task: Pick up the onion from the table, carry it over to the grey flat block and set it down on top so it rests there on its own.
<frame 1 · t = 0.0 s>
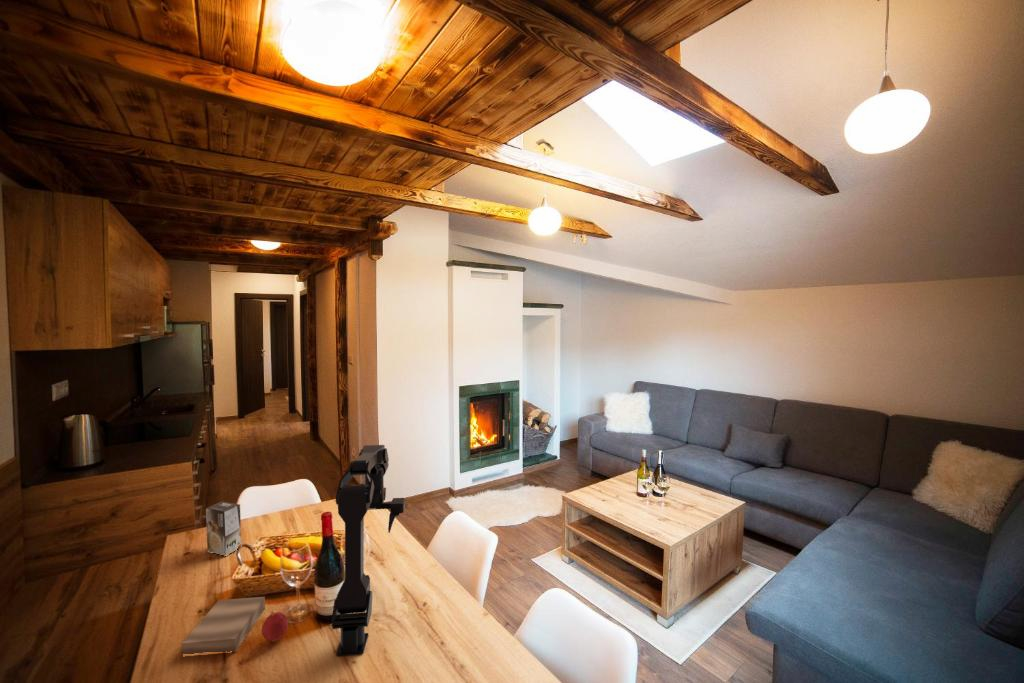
hand: (374, 532, 134), 15 cm above the table, tool pointing down, fingers open, 9 cm apart
grey flat block: (227, 632, 111), on the table
coffee box: (224, 550, 150), on the table
onion: (275, 641, 108), on the table
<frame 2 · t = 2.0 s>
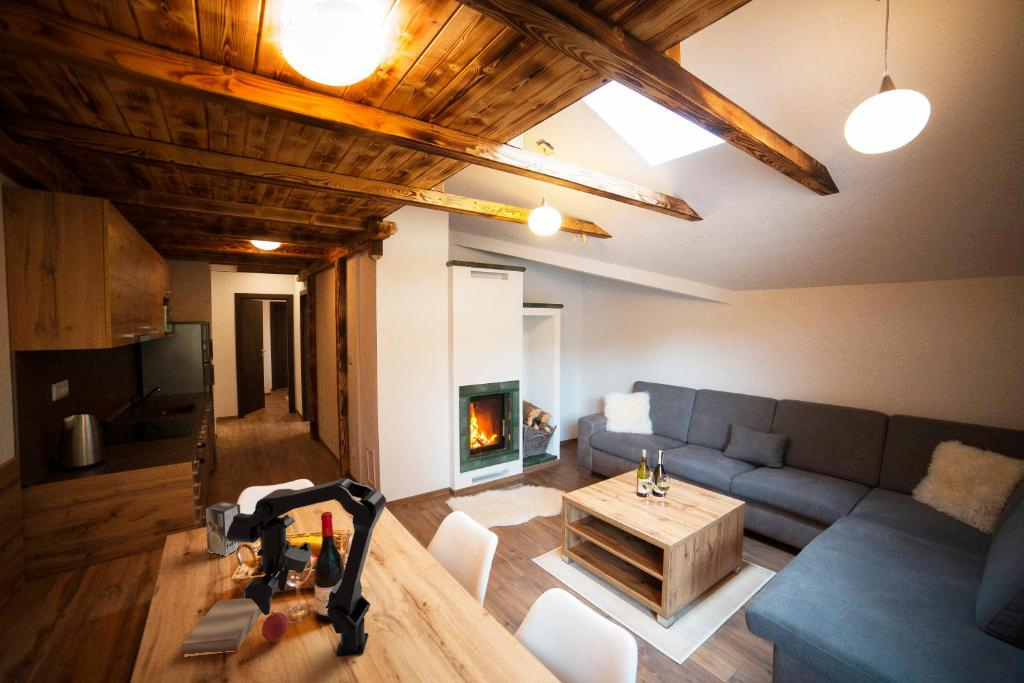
hand: (275, 602, 107), 10 cm above the table, tool pointing down, fingers open, 9 cm apart
nothing on the table moved.
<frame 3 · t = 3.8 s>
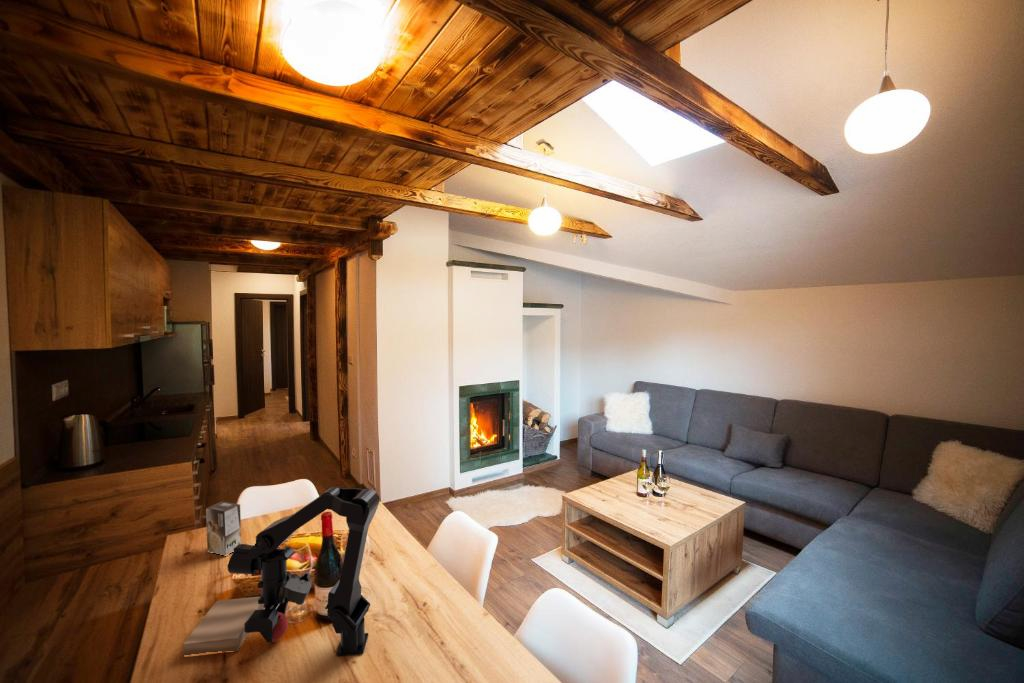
hand: (275, 633, 108), 2 cm above the table, tool pointing down, fingers closed on onion, 6 cm apart
onion: (275, 641, 108), on the table, touching gripper
everything else where it was.
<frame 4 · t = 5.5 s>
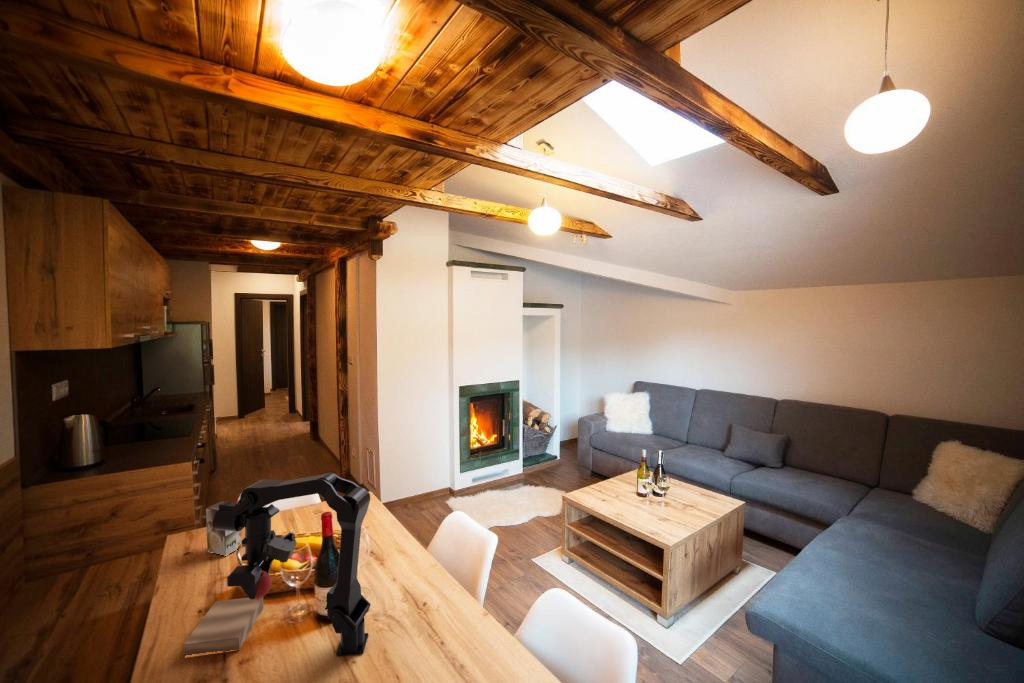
hand: (258, 591, 108), 12 cm above the table, tool pointing down, fingers closed on onion, 6 cm apart
onion: (258, 599, 108), point 10 cm above the table, touching gripper
everything else where it was.
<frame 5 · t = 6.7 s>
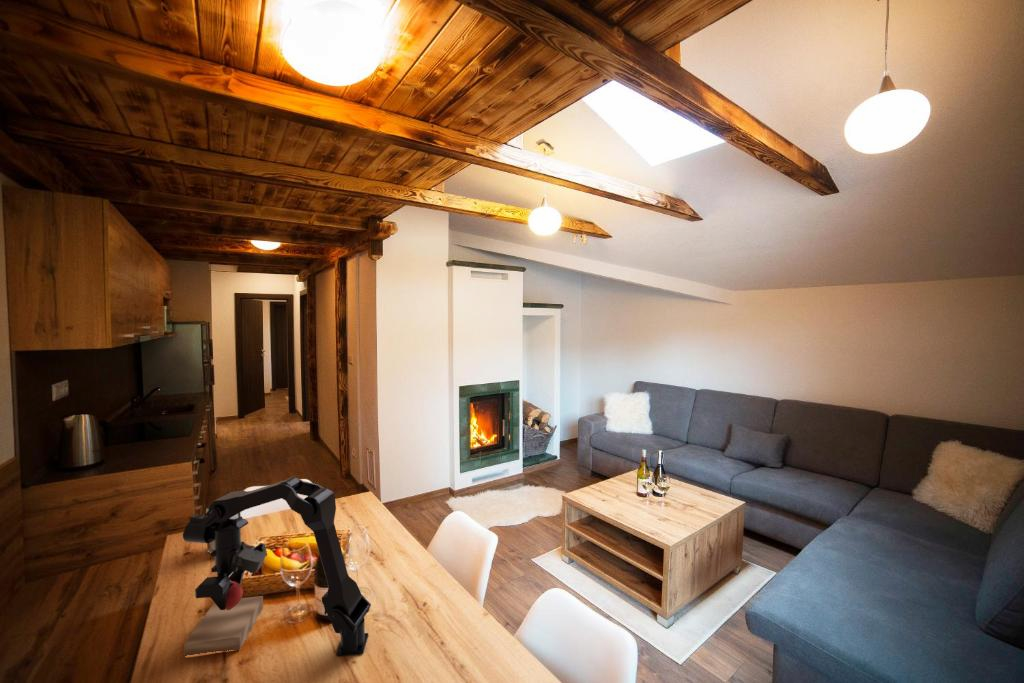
hand: (229, 601, 110), 8 cm above the table, tool pointing down, fingers closed on onion, 6 cm apart
onion: (229, 609, 110), point 6 cm above the table, touching gripper
everything else where it was.
when the fingers open (7 cm above the table, at t = 7.7 s): onion drops 2 cm, resting on grey flat block.
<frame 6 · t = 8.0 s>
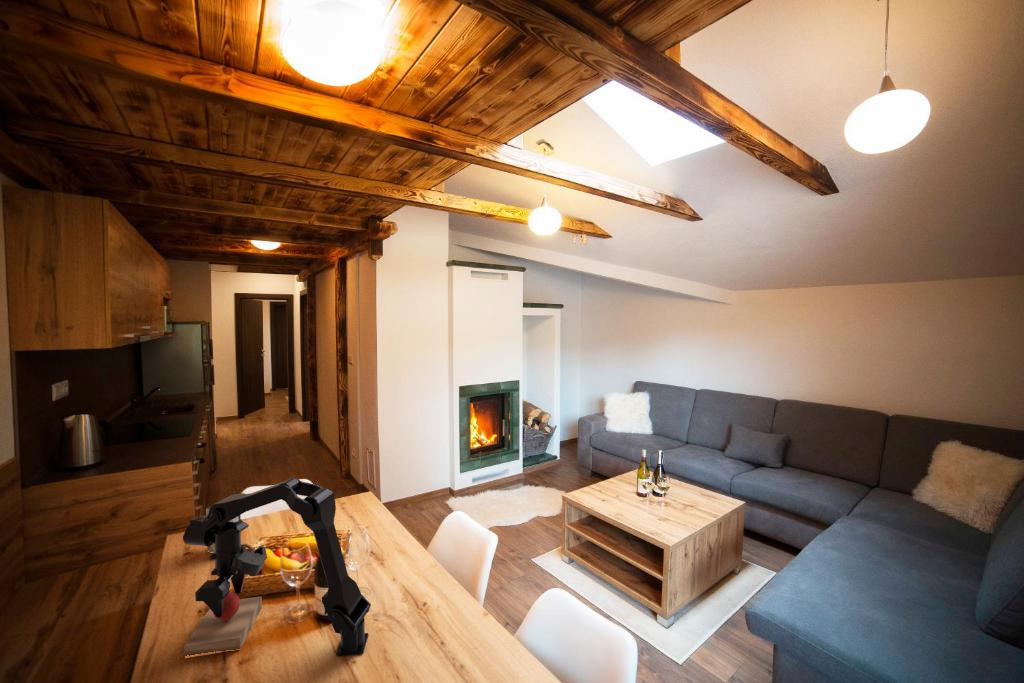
hand: (229, 604, 110), 7 cm above the table, tool pointing down, fingers open, 9 cm apart
grey flat block: (226, 633, 111), on the table, touching onion
onion: (228, 620, 111), point 3 cm above the table, touching grey flat block
everything else where it was.
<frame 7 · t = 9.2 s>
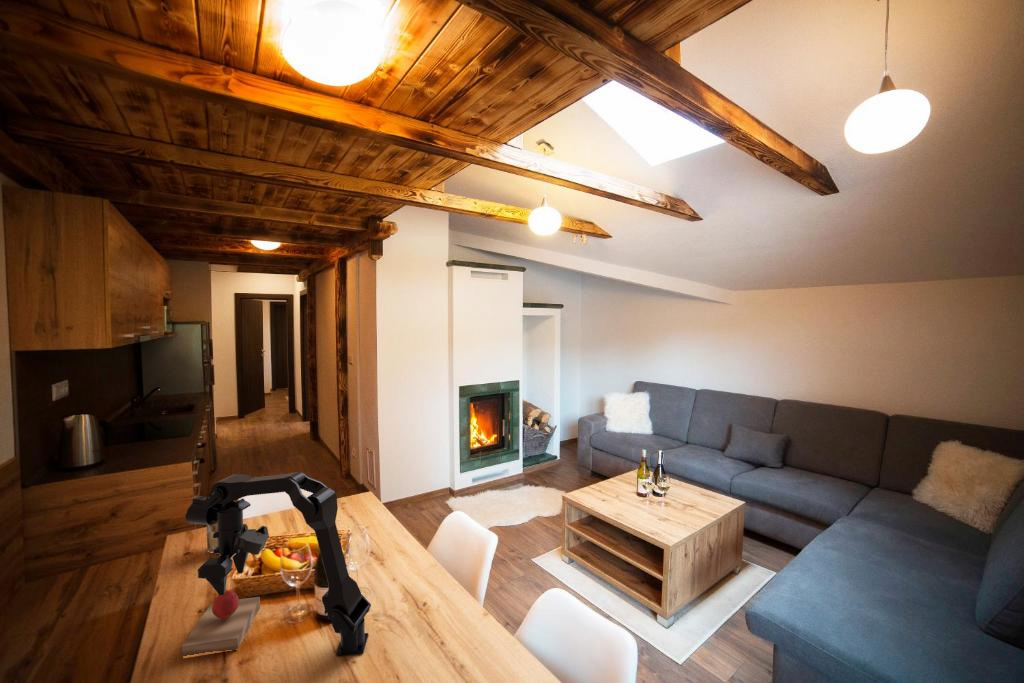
hand: (231, 583, 111), 13 cm above the table, tool pointing down, fingers open, 9 cm apart
onion: (224, 620, 111), point 3 cm above the table, touching grey flat block
everything else where it was.
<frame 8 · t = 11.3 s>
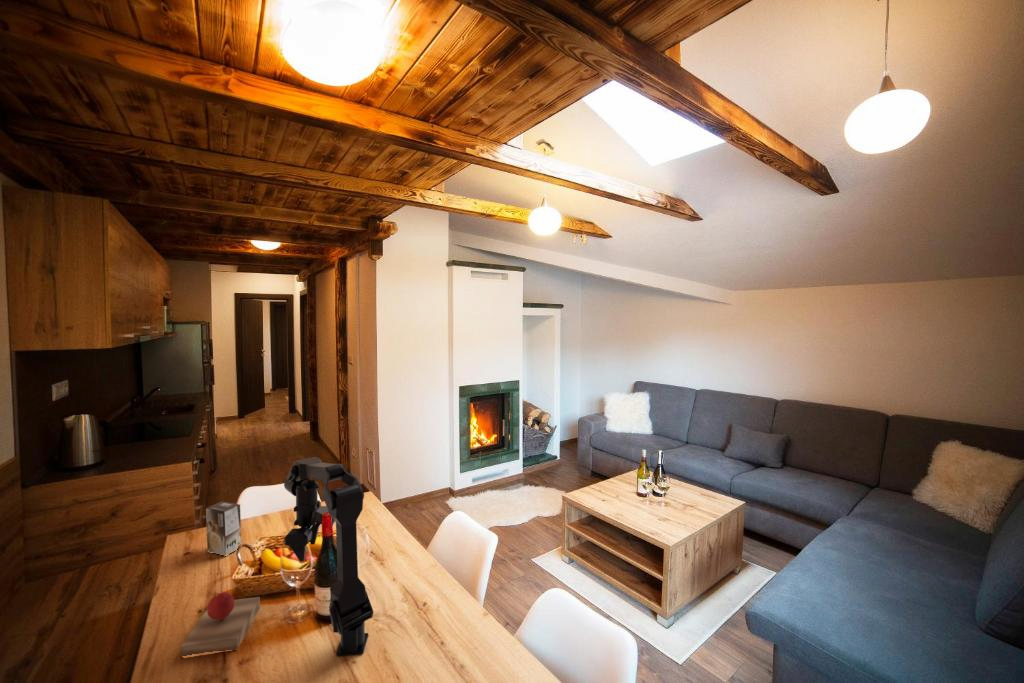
hand: (307, 552, 125), 13 cm above the table, tool pointing down, fingers open, 9 cm apart
at the end: onion inside the target area on the grey flat block (0.1 cm from its centre), point 4.2 cm above the grey flat block's base; onion touching grey flat block; the gripper is holding nothing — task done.
